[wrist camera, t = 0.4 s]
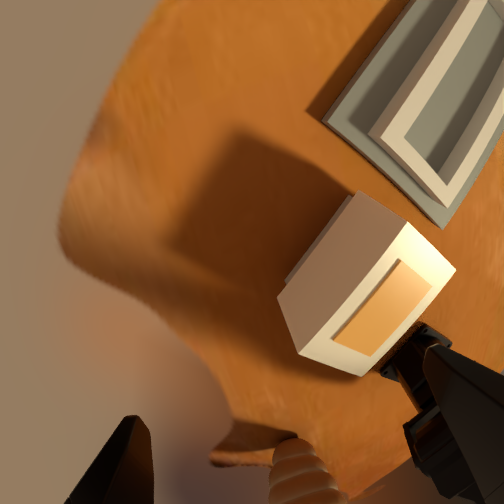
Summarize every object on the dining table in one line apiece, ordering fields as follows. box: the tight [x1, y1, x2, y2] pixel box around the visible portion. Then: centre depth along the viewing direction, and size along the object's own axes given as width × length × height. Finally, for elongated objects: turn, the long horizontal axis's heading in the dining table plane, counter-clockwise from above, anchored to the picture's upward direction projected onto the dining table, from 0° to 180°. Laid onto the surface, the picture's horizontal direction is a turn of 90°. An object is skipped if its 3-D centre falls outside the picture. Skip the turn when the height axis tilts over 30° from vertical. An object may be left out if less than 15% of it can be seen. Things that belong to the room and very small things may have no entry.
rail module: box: [277, 190, 456, 377], centre depth 18 cm, size 5×8×7 cm, turn 146°
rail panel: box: [321, 0, 504, 230], centre depth 15 cm, size 12×20×2 cm, turn 146°
